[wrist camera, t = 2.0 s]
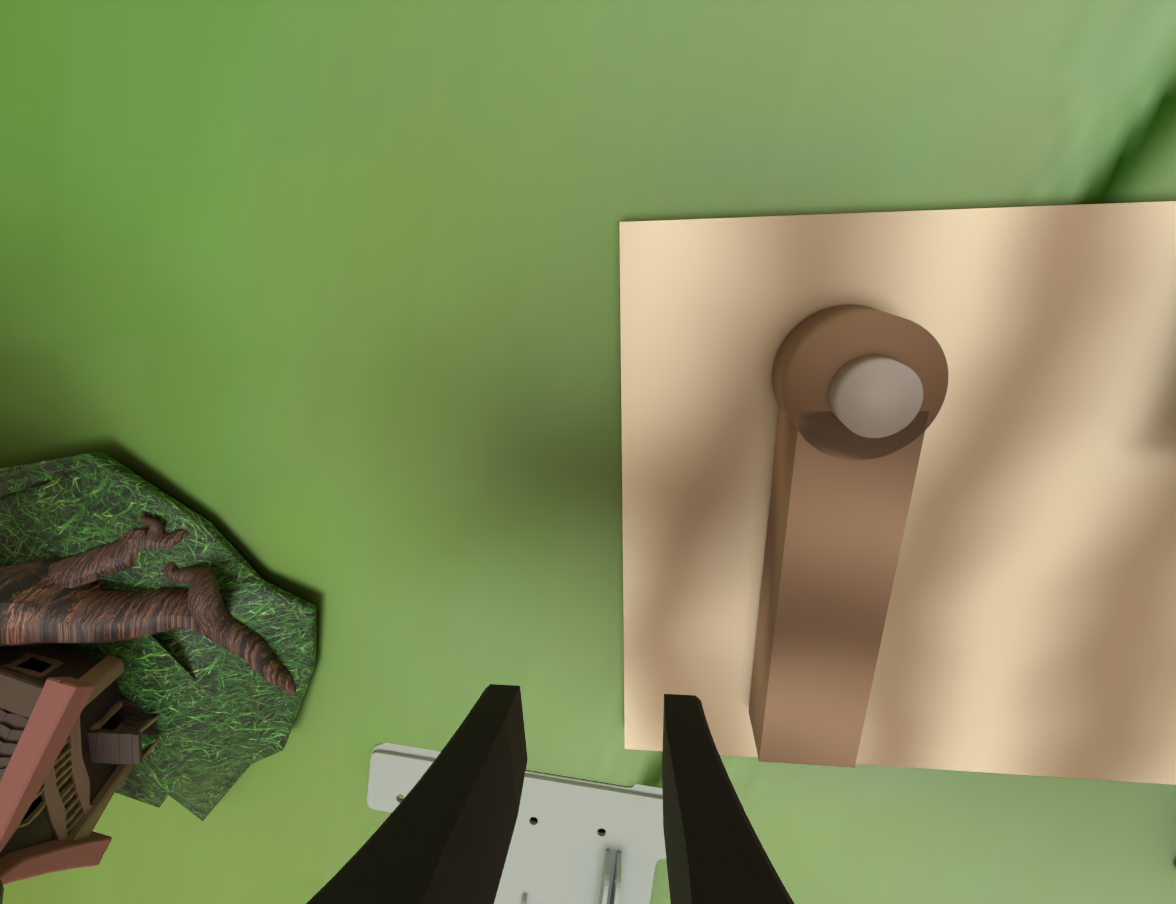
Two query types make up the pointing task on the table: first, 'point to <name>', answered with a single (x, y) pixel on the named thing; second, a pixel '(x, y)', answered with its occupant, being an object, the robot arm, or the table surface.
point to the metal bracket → (555, 833)
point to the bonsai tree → (128, 658)
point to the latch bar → (836, 522)
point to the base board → (923, 477)
